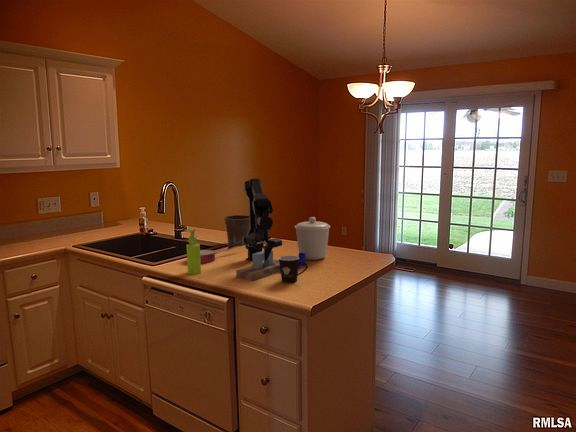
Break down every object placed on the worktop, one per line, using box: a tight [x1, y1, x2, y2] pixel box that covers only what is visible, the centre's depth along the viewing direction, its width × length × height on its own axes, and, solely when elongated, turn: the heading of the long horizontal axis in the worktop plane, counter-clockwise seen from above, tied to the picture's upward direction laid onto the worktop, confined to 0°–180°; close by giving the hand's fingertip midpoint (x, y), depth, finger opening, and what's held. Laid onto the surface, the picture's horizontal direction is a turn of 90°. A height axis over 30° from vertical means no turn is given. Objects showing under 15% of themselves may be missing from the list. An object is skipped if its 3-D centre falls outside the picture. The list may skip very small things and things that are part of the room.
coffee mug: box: [278, 255, 308, 284], centre depth 182 cm, size 12×9×10 cm
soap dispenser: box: [182, 228, 202, 275], centre depth 197 cm, size 6×7×20 cm
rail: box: [235, 258, 281, 282], centre depth 197 cm, size 10×24×3 cm, turn 141°
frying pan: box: [200, 241, 243, 265], centre depth 227 cm, size 32×13×6 cm, turn 140°
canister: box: [294, 216, 331, 261], centre depth 221 cm, size 18×18×21 cm
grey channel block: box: [252, 250, 274, 270], centre depth 196 cm, size 3×10×8 cm, turn 141°
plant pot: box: [223, 214, 250, 247], centre depth 258 cm, size 16×16×16 cm
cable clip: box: [298, 252, 307, 270], centre depth 204 cm, size 12×4×6 cm, turn 142°
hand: (263, 259), depth 196 cm, fingers closed on grey channel block, 3 cm apart
